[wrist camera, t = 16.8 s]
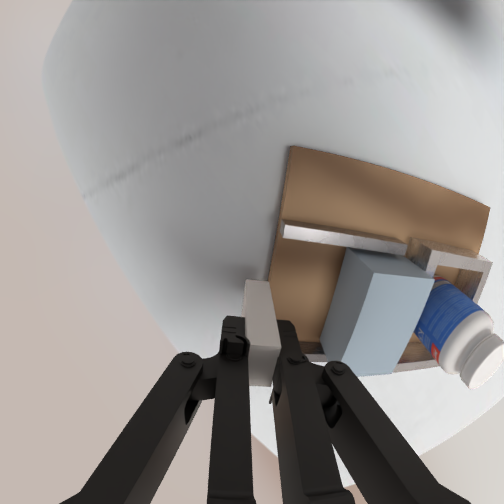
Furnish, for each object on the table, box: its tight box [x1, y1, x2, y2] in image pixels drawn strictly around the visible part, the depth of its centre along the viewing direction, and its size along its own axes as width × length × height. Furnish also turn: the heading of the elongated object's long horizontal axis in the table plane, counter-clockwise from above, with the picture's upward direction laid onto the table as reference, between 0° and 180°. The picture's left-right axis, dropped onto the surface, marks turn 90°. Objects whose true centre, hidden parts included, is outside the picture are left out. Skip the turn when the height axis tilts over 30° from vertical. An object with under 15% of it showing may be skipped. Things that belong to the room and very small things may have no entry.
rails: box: [280, 219, 408, 362], centre depth 19 cm, size 10×9×2 cm
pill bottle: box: [413, 275, 504, 390], centre depth 16 cm, size 6×5×10 cm
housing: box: [320, 247, 435, 376], centre depth 18 cm, size 8×5×4 cm, turn 172°
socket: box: [392, 237, 493, 373], centre depth 19 cm, size 11×8×3 cm
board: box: [268, 146, 490, 342], centre depth 20 cm, size 16×20×1 cm
